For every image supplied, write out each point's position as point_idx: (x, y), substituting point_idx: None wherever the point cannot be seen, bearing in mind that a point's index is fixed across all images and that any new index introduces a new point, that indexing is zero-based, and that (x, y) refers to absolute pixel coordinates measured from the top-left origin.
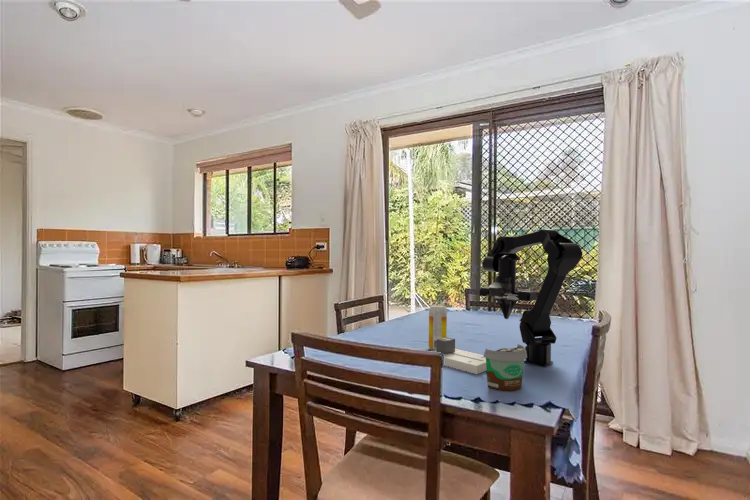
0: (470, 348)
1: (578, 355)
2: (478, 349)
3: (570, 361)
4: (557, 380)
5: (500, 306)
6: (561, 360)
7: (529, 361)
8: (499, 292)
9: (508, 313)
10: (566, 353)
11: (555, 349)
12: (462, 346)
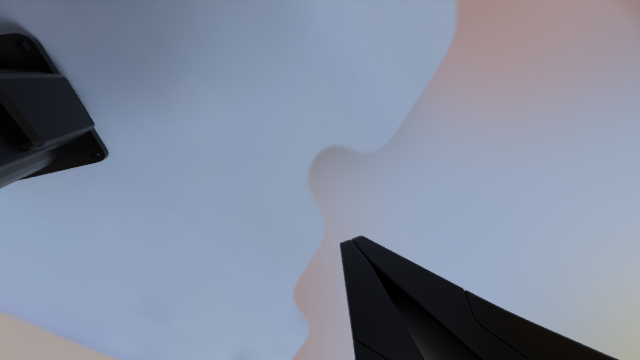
0: (406, 41)
1: (110, 346)
2: (374, 60)
3: (14, 277)
4: None
5: (521, 319)
6: (45, 254)
7: (3, 58)
8: None
9: (348, 299)
10: (154, 326)
11: (219, 322)
12: (445, 38)
